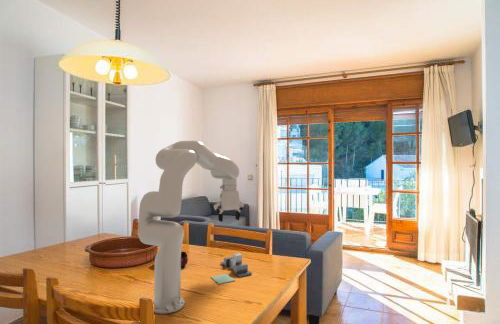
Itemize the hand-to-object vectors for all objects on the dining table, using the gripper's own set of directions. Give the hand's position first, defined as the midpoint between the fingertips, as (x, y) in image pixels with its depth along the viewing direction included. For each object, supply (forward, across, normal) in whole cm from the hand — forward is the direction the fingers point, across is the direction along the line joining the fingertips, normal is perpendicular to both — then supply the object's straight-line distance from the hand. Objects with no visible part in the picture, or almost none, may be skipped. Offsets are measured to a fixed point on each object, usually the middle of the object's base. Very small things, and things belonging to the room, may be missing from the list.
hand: (229, 220), depth 159 cm
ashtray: (+24, -24, +15) cm, 37 cm away
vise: (+24, 0, -7) cm, 25 cm away
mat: (+23, -11, -16) cm, 30 cm away
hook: (+24, 0, -7) cm, 25 cm away
